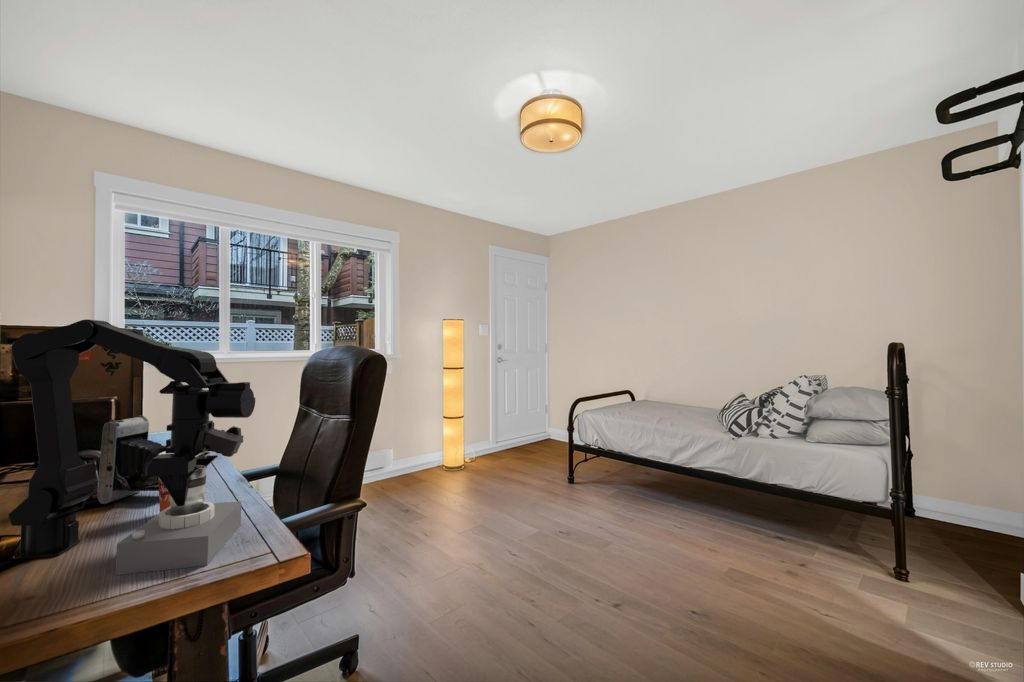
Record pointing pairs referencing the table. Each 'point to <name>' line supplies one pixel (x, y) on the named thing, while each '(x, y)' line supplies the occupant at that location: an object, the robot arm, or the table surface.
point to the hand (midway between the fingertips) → (187, 500)
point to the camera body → (178, 539)
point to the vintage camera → (126, 459)
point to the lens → (192, 495)
